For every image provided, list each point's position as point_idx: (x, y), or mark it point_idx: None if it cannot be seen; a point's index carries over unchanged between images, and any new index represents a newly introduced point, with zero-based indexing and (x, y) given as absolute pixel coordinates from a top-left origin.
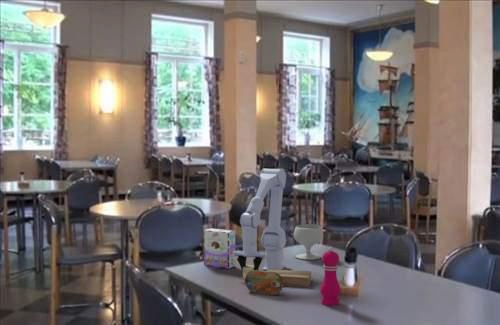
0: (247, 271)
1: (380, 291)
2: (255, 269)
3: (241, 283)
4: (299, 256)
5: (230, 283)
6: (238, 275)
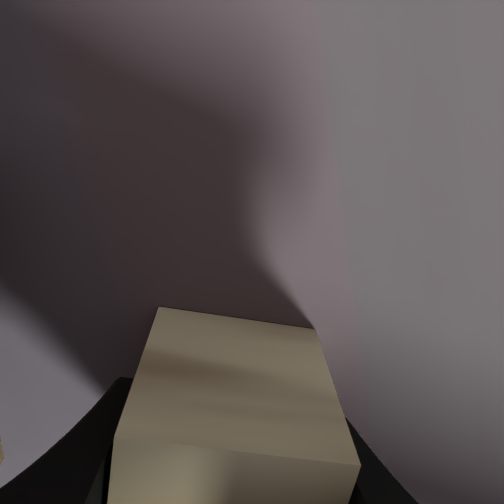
0: (250, 397)
1: None
2: (80, 438)
3: (304, 115)
4: None
5: (483, 83)
6: None
